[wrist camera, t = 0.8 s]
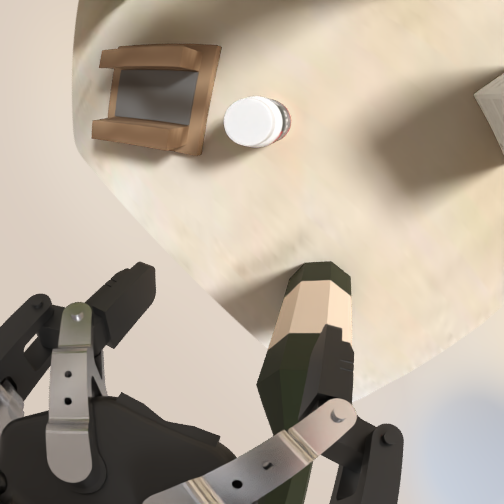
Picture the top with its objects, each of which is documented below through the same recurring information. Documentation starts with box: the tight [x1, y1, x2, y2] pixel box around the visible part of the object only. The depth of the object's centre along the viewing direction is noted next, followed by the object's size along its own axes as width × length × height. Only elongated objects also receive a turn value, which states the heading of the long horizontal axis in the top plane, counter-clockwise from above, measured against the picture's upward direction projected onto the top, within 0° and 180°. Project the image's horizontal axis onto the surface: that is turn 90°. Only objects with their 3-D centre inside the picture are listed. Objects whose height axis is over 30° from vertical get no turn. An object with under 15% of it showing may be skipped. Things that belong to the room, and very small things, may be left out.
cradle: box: [92, 44, 222, 156], centre depth 27 cm, size 13×14×6 cm
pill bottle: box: [224, 96, 291, 148], centre depth 24 cm, size 5×5×8 cm
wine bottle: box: [256, 262, 352, 504], centre depth 23 cm, size 8×8×30 cm
